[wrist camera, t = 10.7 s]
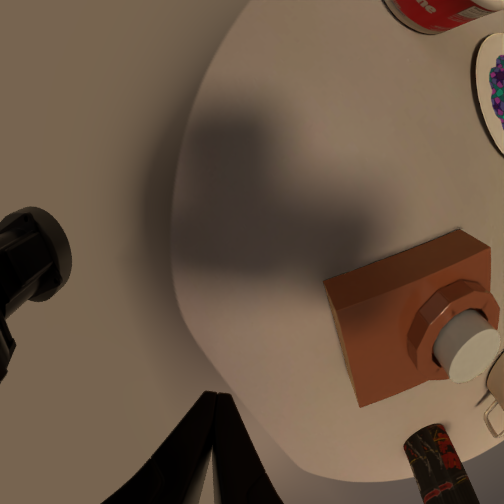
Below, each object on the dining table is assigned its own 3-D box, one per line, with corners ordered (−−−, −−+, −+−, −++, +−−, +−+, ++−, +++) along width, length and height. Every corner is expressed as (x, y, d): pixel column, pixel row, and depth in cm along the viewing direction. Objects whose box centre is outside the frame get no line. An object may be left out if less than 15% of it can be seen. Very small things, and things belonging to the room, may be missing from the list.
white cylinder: (432, 370, 18) (447, 393, 16) (432, 324, 17) (450, 347, 15) (479, 346, 18) (496, 365, 15) (483, 299, 16) (504, 318, 14)
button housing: (348, 374, 25) (365, 424, 20) (322, 280, 22) (343, 327, 16) (462, 326, 24) (494, 363, 18) (459, 228, 20) (506, 256, 15)
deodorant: (396, 445, 30) (428, 540, 16) (435, 418, 29) (479, 513, 15) (413, 454, 32) (443, 538, 18) (448, 430, 30) (487, 513, 16)
